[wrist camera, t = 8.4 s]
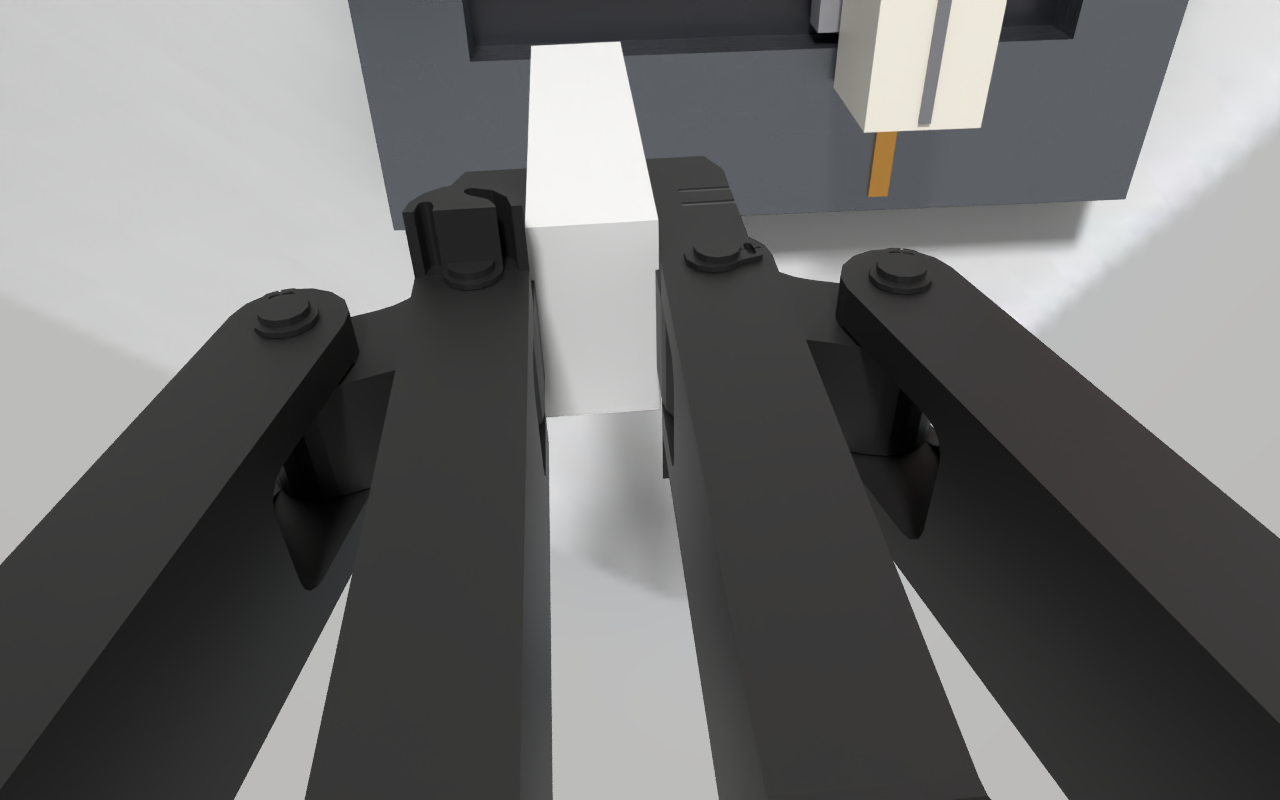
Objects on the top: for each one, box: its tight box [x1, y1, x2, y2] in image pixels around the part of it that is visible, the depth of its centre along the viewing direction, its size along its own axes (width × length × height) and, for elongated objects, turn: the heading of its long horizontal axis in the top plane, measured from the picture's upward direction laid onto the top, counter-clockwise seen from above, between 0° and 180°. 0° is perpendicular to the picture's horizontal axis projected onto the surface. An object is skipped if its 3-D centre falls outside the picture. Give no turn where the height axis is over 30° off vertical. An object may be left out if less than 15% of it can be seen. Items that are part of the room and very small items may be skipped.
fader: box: [810, 0, 1007, 133], centre depth 24 cm, size 4×5×5 cm
